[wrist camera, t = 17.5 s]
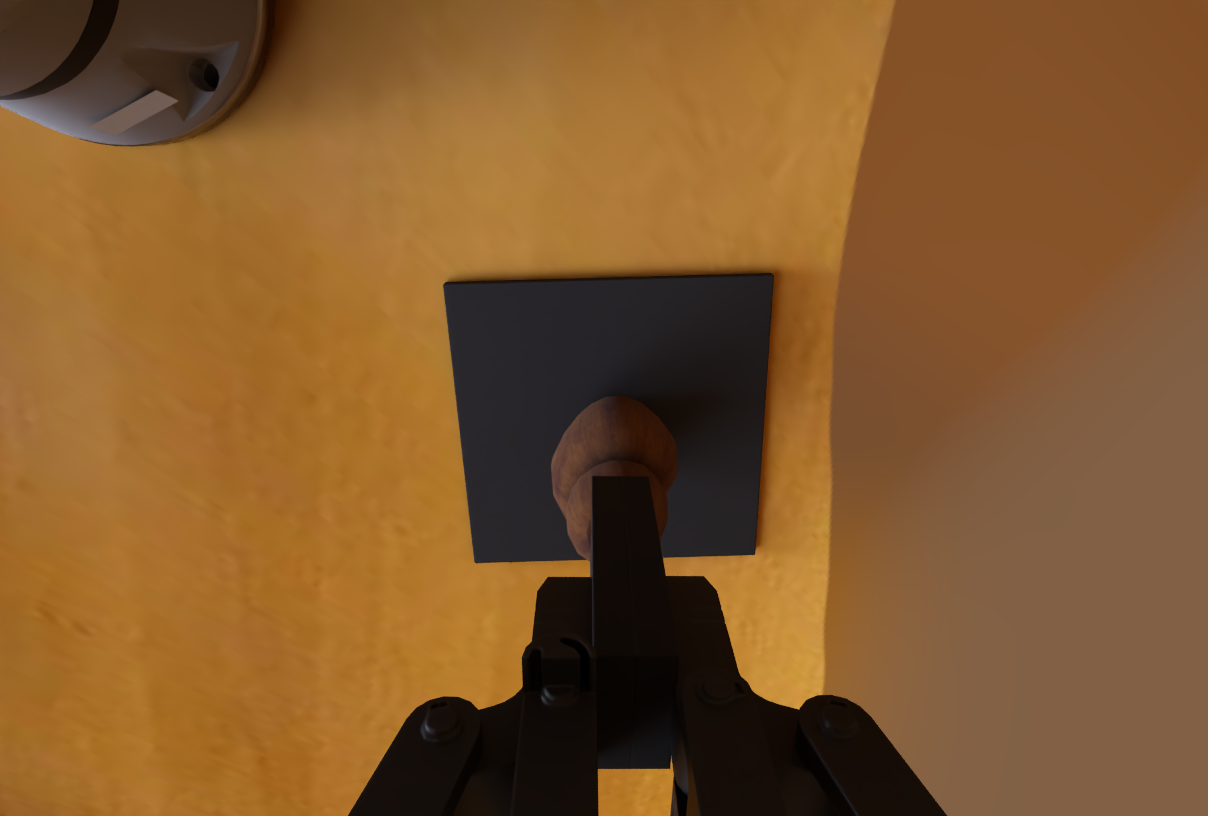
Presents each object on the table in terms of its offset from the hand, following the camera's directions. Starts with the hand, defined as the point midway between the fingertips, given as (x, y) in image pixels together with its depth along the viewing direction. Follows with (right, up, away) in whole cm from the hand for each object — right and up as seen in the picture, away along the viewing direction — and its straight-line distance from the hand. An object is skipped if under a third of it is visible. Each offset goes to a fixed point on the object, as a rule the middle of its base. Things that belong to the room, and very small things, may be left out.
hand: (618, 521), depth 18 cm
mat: (0, +2, +23) cm, 23 cm away
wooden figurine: (0, +2, +23) cm, 23 cm away
